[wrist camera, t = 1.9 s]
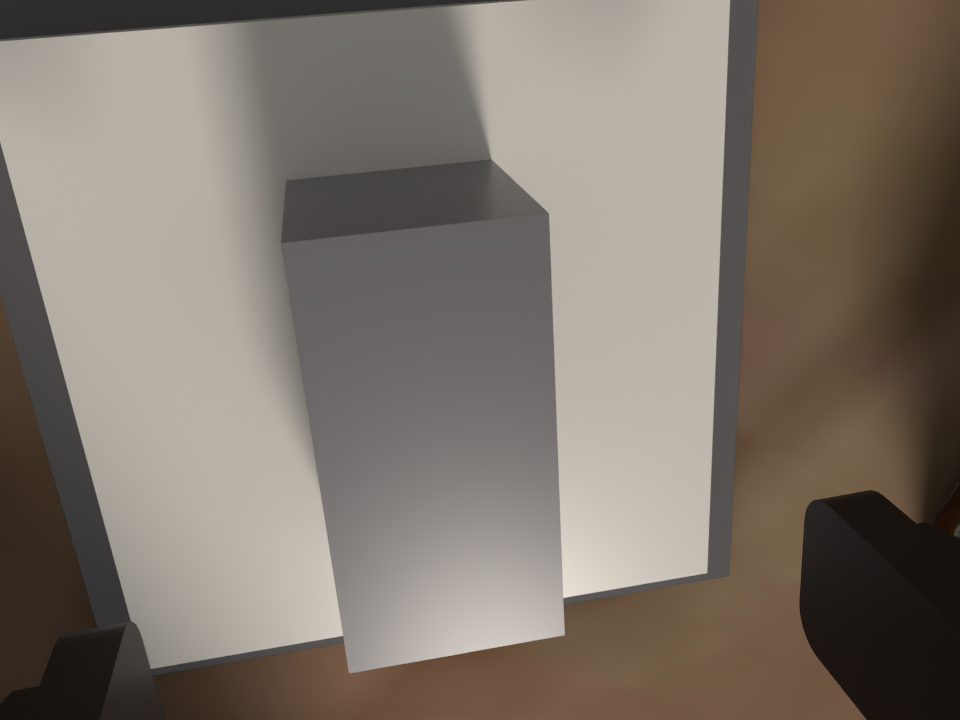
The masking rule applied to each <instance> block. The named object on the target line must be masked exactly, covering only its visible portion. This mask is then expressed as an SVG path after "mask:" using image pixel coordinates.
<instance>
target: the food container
mask: <svg viewBox="0 0 960 720" xmlns="http://www.w3.org/2000/svg"><path fill="white" fill-rule="evenodd" d="M933 527H936V528H938V529H940V530H942V531H944V532H947V533H949V534H951V535H953V536H955V537H957V538H960V481H959V482H958V484H957V485H956V487H955V488H954V490H953V491H952V493H951V494H950V496H949V497H948V499H947V500H946V502H945V503H944V505H943V506H942V508H941V509H940V511H939V512H938V514H937V517H936V520H935V523H934V526H933Z"/></svg>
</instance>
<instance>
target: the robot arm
mask: <svg viewBox="0 0 960 720" xmlns="http://www.w3.org/2000/svg"><path fill="white" fill-rule="evenodd" d="M800 615H801V621H802V625H803V629H804V632H805V635H806V637H807V640H808V642H809V644H810V646H811V648H812V650H813V652H814V653H815V655H816V656H817V657H818V659H819V660H820V661H821V663H822V664H823V665H824V666H825V668H826V669H827V670H828V671H829V673H830V674H831V675H832V676H833V678H834V679H835V680H836V681H837V683H838V684H839V685H840V686H841V688H842V689H843V690H844V692H845V693H846V694H847V695H848V697H849V698H850V699H851V700H852V702H853V703H854V704H855V705H856V707H857V708H858V709H859V710H860V712H861V713H862V714H863V715H864V717H865V718H866V719H867V720H960V538H957V537H955V536H953V535H951V534H949V533H947V532H944V531H942V530H940V529H938V528H936V527H933V526H931V525H929V524H927V523H925V522H924V523H919V524H916V523H915V522H914V521H913V520H911V519H910V518H909V517H908V516H907V515H905V514H904V513H903V512H902V511H901V510H899V509H898V508H897V507H896V506H895V505H894V504H892V503H891V502H890V501H889V500H888V499H886V498H885V497H884V496H883V495H881V494H880V493H878V492H876V491H872V490H869V491H863V492H858V493H852V494H847V495H841V496H836V497H830V498H825V499H819V500H814V501H812V502H811V503H810V504H809V505H808V507H807V509H806V513H805V520H804V537H803V553H802V570H801V587H800ZM0 720H165V718H164V714H163V711H162V707H161V704H160V700H159V696H158V693H157V689H156V686H155V682H154V679H153V675H152V671H151V668H150V664H149V661H148V657H147V654H146V650H145V646H144V643H143V639H142V636H141V633H140V631H139V629H138V627H137V625H136V624H135V623H134V622H126V623H121V624H115V625H110V626H104V627H99V628H93V629H88V630H82V631H77V632H71V633H65V634H62V635H61V636H60V637H59V638H58V640H57V642H56V644H55V647H54V649H53V652H52V654H51V657H50V660H49V662H48V665H47V668H46V670H45V673H44V675H43V678H42V681H41V683H40V686H37V687H32V688H27V689H21V690H16V691H12V692H11V693H10V694H9V695H8V696H7V697H6V698H5V700H4V701H3V702H2V703H1V704H0Z"/></svg>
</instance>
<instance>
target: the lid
mask: <svg viewBox="0 0 960 720" xmlns="http://www.w3.org/2000/svg"><path fill="white" fill-rule="evenodd" d="M729 15H730V0H498V1H485V2H472V3H459V4H447V5H434V6H421V7H408V8H395V9H382V10H369V11H356V12H343V13H331V14H318V15H305V16H292V17H279V18H266V19H253V20H240V21H227V22H214V23H202V24H189V25H176V26H163V27H150V28H137V29H124V30H111V31H98V32H86V33H73V34H60V35H47V36H34V37H21V38H8V39H0V143H1V147H2V150H3V154H4V158H5V161H6V165H7V169H8V172H9V176H10V180H11V183H12V187H13V191H14V194H15V198H16V202H17V205H18V209H19V213H20V216H21V220H22V224H23V227H24V231H25V235H26V238H27V242H28V246H29V249H30V253H31V257H32V260H33V264H34V268H35V271H36V275H37V279H38V282H39V286H40V290H41V293H42V297H43V301H44V304H45V308H46V312H47V315H48V319H49V323H50V326H51V330H52V334H53V337H54V341H55V345H56V348H57V352H58V356H59V359H60V363H61V367H62V370H63V374H64V378H65V381H66V385H67V389H68V392H69V396H70V400H71V403H72V407H73V411H74V414H75V418H76V422H77V425H78V429H79V433H80V436H81V440H82V444H83V447H84V451H85V455H86V458H87V462H88V466H89V469H90V473H91V477H92V480H93V484H94V488H95V491H96V495H97V499H98V502H99V506H100V510H101V513H102V517H103V521H104V524H105V528H106V532H107V535H108V539H109V543H110V546H111V550H112V554H113V557H114V561H115V565H116V568H117V572H118V576H119V579H120V583H121V587H122V590H123V594H124V598H125V601H126V605H127V609H128V612H129V616H130V620H131V622H134V623H135V624H136V625H137V627H138V629H139V631H140V633H141V636H142V639H143V643H144V646H145V650H146V654H147V657H148V661H149V664H150V668H151V669H154V668H160V667H165V666H171V665H177V664H183V663H189V662H194V661H200V660H206V659H212V658H218V657H223V656H229V655H235V654H241V653H247V652H252V651H258V650H264V649H270V648H276V647H281V646H287V645H293V644H299V643H305V642H310V641H316V640H322V639H328V638H334V637H339V636H343V638H344V644H345V651H346V657H347V663H348V670H349V673H354V672H360V671H366V670H371V669H377V668H382V667H388V666H394V665H399V664H405V663H410V662H416V661H422V660H427V659H433V658H439V657H444V656H450V655H455V654H461V653H467V652H472V651H478V650H483V649H489V648H495V647H500V646H506V645H511V644H517V643H523V642H528V641H534V640H540V639H545V638H551V637H556V636H562V635H565V631H564V604H563V598H566V597H572V596H577V595H583V594H589V593H595V592H601V591H607V590H612V589H618V588H624V587H630V586H636V585H641V584H647V583H653V582H659V581H665V580H670V579H676V578H682V577H688V576H694V575H699V574H705V573H707V567H708V541H709V516H710V491H711V466H712V441H713V416H714V391H715V366H716V341H717V316H718V291H719V266H720V241H721V215H722V190H723V165H724V140H725V115H726V90H727V65H728V40H729Z"/></svg>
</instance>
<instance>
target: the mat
mask: <svg viewBox="0 0 960 720" xmlns="http://www.w3.org/2000/svg"><path fill="white" fill-rule="evenodd" d="M485 1H498V0H0V39H8V38H21V37H34V36H47V35H60V34H73V33H86V32H98V31H111V30H124V29H137V28H150V27H163V26H176V25H189V24H202V23H214V22H227V21H240V20H253V19H266V18H279V17H292V16H305V15H318V14H331V13H343V12H356V11H369V10H382V9H395V8H408V7H421V6H434V5H447V4H459V3H472V2H485ZM757 17H758V0H730V15H729V40H728V65H727V90H726V115H725V140H724V165H723V190H722V215H721V241H720V266H719V291H718V316H717V341H716V366H715V391H714V416H713V441H712V466H711V491H710V516H709V541H708V567H707V573H705V574H699V575H694V576H688V577H682V578H676V579H670V580H665V581H659V582H653V583H647V584H641V585H636V586H630V587H624V588H618V589H612V590H607V591H601V592H595V593H589V594H583V595H577V596H572V597H566V598H563V604H570V603H576V602H582V601H587V600H593V599H599V598H605V597H610V596H616V595H622V594H628V593H634V592H639V591H645V590H651V589H657V588H662V587H668V586H674V585H680V584H685V583H691V582H697V581H703V580H709V579H714V578H720V577H726V576H729V562H730V543H731V523H732V504H733V484H734V465H735V445H736V426H737V406H738V387H739V367H740V348H741V328H742V309H743V289H744V270H745V251H746V231H747V212H748V192H749V173H750V153H751V134H752V114H753V95H754V75H755V56H756V36H757ZM0 296H1V299H2V303H3V306H4V310H5V313H6V316H7V320H8V323H9V327H10V330H11V334H12V337H13V340H14V344H15V347H16V351H17V354H18V358H19V361H20V364H21V368H22V371H23V375H24V378H25V382H26V385H27V388H28V392H29V395H30V399H31V402H32V406H33V409H34V412H35V416H36V419H37V423H38V426H39V430H40V433H41V436H42V440H43V443H44V447H45V450H46V453H47V457H48V460H49V464H50V467H51V471H52V474H53V477H54V481H55V484H56V488H57V491H58V495H59V498H60V501H61V505H62V508H63V512H64V515H65V519H66V522H67V525H68V529H69V532H70V536H71V539H72V543H73V546H74V549H75V553H76V556H77V560H78V563H79V566H80V570H81V573H82V577H83V580H84V584H85V587H86V590H87V594H88V597H89V601H90V604H91V608H92V611H93V614H94V618H95V621H96V625H97V628H99V627H104V626H110V625H115V624H121V623H126V622H131V620H130V616H129V612H128V609H127V605H126V601H125V598H124V594H123V590H122V587H121V583H120V579H119V576H118V572H117V568H116V565H115V561H114V557H113V554H112V550H111V546H110V543H109V539H108V535H107V532H106V528H105V524H104V521H103V517H102V513H101V510H100V506H99V502H98V499H97V495H96V491H95V488H94V484H93V480H92V477H91V473H90V469H89V466H88V462H87V458H86V455H85V451H84V447H83V444H82V440H81V436H80V433H79V429H78V425H77V422H76V418H75V414H74V411H73V407H72V403H71V400H70V396H69V392H68V389H67V385H66V381H65V378H64V374H63V370H62V367H61V363H60V359H59V356H58V352H57V348H56V345H55V341H54V337H53V334H52V330H51V326H50V323H49V319H48V315H47V312H46V308H45V304H44V301H43V297H42V293H41V290H40V286H39V282H38V279H37V275H36V271H35V268H34V264H33V260H32V257H31V253H30V249H29V246H28V242H27V238H26V235H25V231H24V227H23V224H22V220H21V216H20V213H19V209H18V205H17V202H16V198H15V194H14V191H13V187H12V183H11V180H10V176H9V172H8V169H7V165H6V161H5V158H4V154H3V150H2V147H1V143H0ZM339 643H344V638H343V636H339V637H334V638H328V639H322V640H316V641H310V642H305V643H299V644H293V645H287V646H281V647H276V648H270V649H264V650H258V651H252V652H247V653H241V654H235V655H229V656H223V657H218V658H212V659H206V660H200V661H194V662H189V663H183V664H177V665H171V666H165V667H160V668H154V669H151V671H152V675H153V676H155V675H161V674H166V673H172V672H178V671H184V670H189V669H195V668H201V667H207V666H212V665H218V664H224V663H230V662H236V661H241V660H247V659H253V658H259V657H264V656H270V655H276V654H282V653H287V652H293V651H299V650H305V649H310V648H316V647H322V646H328V645H334V644H339Z"/></svg>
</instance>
